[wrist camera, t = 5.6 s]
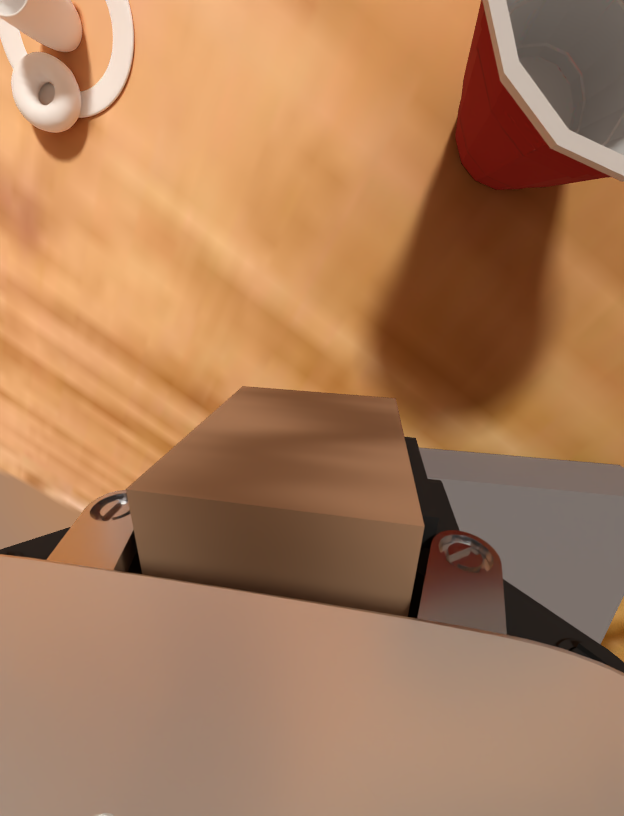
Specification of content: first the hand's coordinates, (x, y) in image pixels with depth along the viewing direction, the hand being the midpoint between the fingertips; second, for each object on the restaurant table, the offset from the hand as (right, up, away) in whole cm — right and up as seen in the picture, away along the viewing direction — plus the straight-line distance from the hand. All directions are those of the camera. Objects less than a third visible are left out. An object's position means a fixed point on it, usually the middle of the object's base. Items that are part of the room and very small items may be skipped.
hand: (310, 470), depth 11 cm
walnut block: (0, 0, +1) cm, 1 cm away
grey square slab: (+13, -9, +16) cm, 22 cm away
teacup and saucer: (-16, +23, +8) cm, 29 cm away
